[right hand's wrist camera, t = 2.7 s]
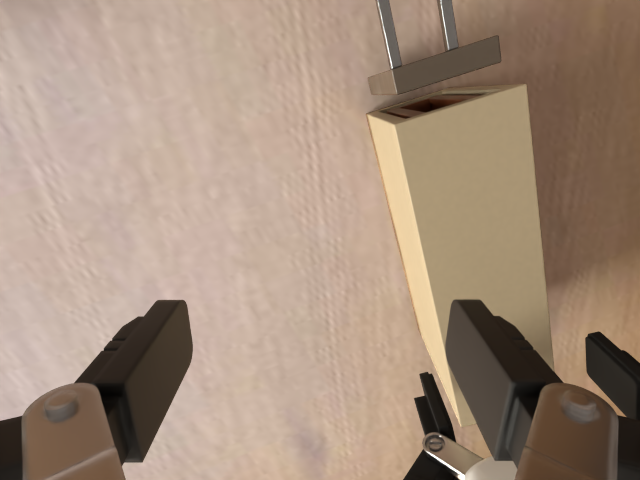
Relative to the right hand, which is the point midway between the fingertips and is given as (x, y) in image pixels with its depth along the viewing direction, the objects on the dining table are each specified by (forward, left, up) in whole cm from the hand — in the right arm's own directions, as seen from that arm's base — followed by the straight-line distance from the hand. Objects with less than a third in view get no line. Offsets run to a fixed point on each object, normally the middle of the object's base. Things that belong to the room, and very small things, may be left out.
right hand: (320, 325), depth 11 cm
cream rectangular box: (+9, +5, -20) cm, 23 cm away
